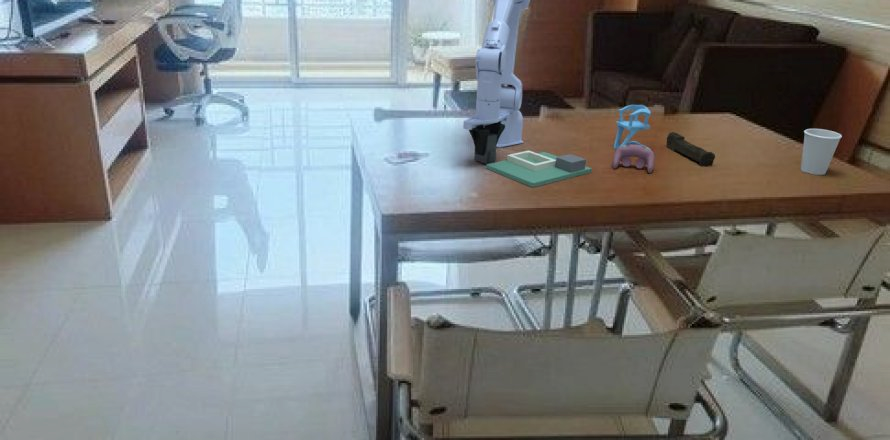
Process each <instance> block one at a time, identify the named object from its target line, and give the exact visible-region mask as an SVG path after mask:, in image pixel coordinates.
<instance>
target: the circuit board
mask: <svg viewBox="0 0 890 440" xmlns="http://www.w3.org/2000/svg"><path fill="white" fill-rule="evenodd" d="M586 163H587V159H586V158H584V157H580V156H577V155H575V154H572V153H569V154H566V155H565V154H564V155H560V156H558V155H554V154H551V153H549V152H546V151H542V152H538V153H536V152H534V151H532V150H525V151H519V152H516V153H511V154H507V157H506V160H501V161H497V162H496V161H495V163H491V164H486V165H485V166H486V168H485V169H487V170H488V171H491V172H494V173H496V174H499V175H501V176H504V177H506V178H509V179H511V180H513V181H517V182H518V183H520V184H523V185H526V186H529V187H531V188H536V187H539V186H544V185H547V184H553V183H555V182H558V181H563V180H567V179H571V178H575V177H579V176H583V175H586V174H590V173H592V170H593V169H592V167H589V166H586Z"/></svg>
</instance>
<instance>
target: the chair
mask: <svg viewBox="0 0 890 440" xmlns="http://www.w3.org/2000/svg"><path fill="white" fill-rule="evenodd" d="M628 110H632V111H633V112H632V113H629V120H624V116H623V113H624V112H625V111H628ZM618 111H619V120H616V122H615V125H616V126H617V132H616V136H615V140H614V145H613V149H616V150H617V149H618V148H619V147H620V146H622V145H630V144H635V145H641V146H644V147H646V148H649V149H650V150H651V148H650V147H648V146H646V145H643V144H641V143H640V142H638V141H636V140H633V141H632V140H631V138H633V137H634V135H635V134H637V132H640V131H643V130H650V129H651V125H649V124H648V120H649V119H650V118H649V117H650V116H651V114H652V112H651V110H650V109H649V108H648V107H647V106H645V105H644V104H630V105H629V104H628V105H626V106H624V107H622V108H620V109H618ZM639 115H644V116H646V117H645V118H644V119H643V120H644V121H643V122H642V121H640V120H639V119H638V117H639ZM633 118H634V119H633ZM624 130H626V131H628V134H626V137H625V138H624V140H623V142H622V143H620V142H621V139H622V135H623V132H624ZM630 140H631V141H630Z"/></svg>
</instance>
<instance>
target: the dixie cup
mask: <svg viewBox="0 0 890 440" xmlns="http://www.w3.org/2000/svg"><path fill="white" fill-rule="evenodd" d="M803 133H804V138H803V147H802V156H801V162H800V163H801V164H800V171H802V172H804V173H807V174H810V175H814V176H815V175H817V176H823V175H826V173H827V171H828V169H829V166H830V165H831V161H832V158H833V156H834V154H835V151H836V150H837V147H838V145H839V143H840V140H841V138H842V137H843V136H842V134H841V133H838V132H836V131H832V130H830V129H829V130H828V129H823V128H807V129H805V130H803Z"/></svg>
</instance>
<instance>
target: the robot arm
mask: <svg viewBox="0 0 890 440" xmlns="http://www.w3.org/2000/svg"><path fill="white" fill-rule="evenodd" d="M492 1H493V5H494V7H493V8H494V9H493V16H492V21H490V22H489V23H487V25H486V28H485V32H484V36H483V40H482V44H481V48H480V49H479V48H478V49H477V51H476V53H475V61H474V62H475V79H476V80H477V82H476V83H477V85H476V103H475V105H476V107H475V113H474V114H472V116H471V117H470V118H468V119H465V120H463V129H465V130H467V131H468V132H469V134H470V136H471V138H472V141H473V144H474V145H473V147H474V152H475V151H476V154H478V155H481V156H483V155H484V152H485V146H486V140H487V137H488V134H489V132H491V133H493V134H496V135H497V142H496V148H500V149H501V148H505V147H508V146H513V145H514V146H515V145H517V144H523V143H524V140H522V137H523V127H524V126H523V125H524V118H523V114H522V112H521V111H520V109H521V106H522V101H523V83H522V81H521V79H519V78H518V77H517V76H516V75H515V74H514V71H515V63H516V62H515V61H516V54H517V53H516V52H517V51H516V50H517V42H518V36H519V27H520V26H519V25H520V17H521V15H522V11H523V10H525V9H528V8H529V4H530V2H531V0H492ZM505 85H506V86H505ZM507 85H509V86H507ZM510 85H511V86H510Z"/></svg>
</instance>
